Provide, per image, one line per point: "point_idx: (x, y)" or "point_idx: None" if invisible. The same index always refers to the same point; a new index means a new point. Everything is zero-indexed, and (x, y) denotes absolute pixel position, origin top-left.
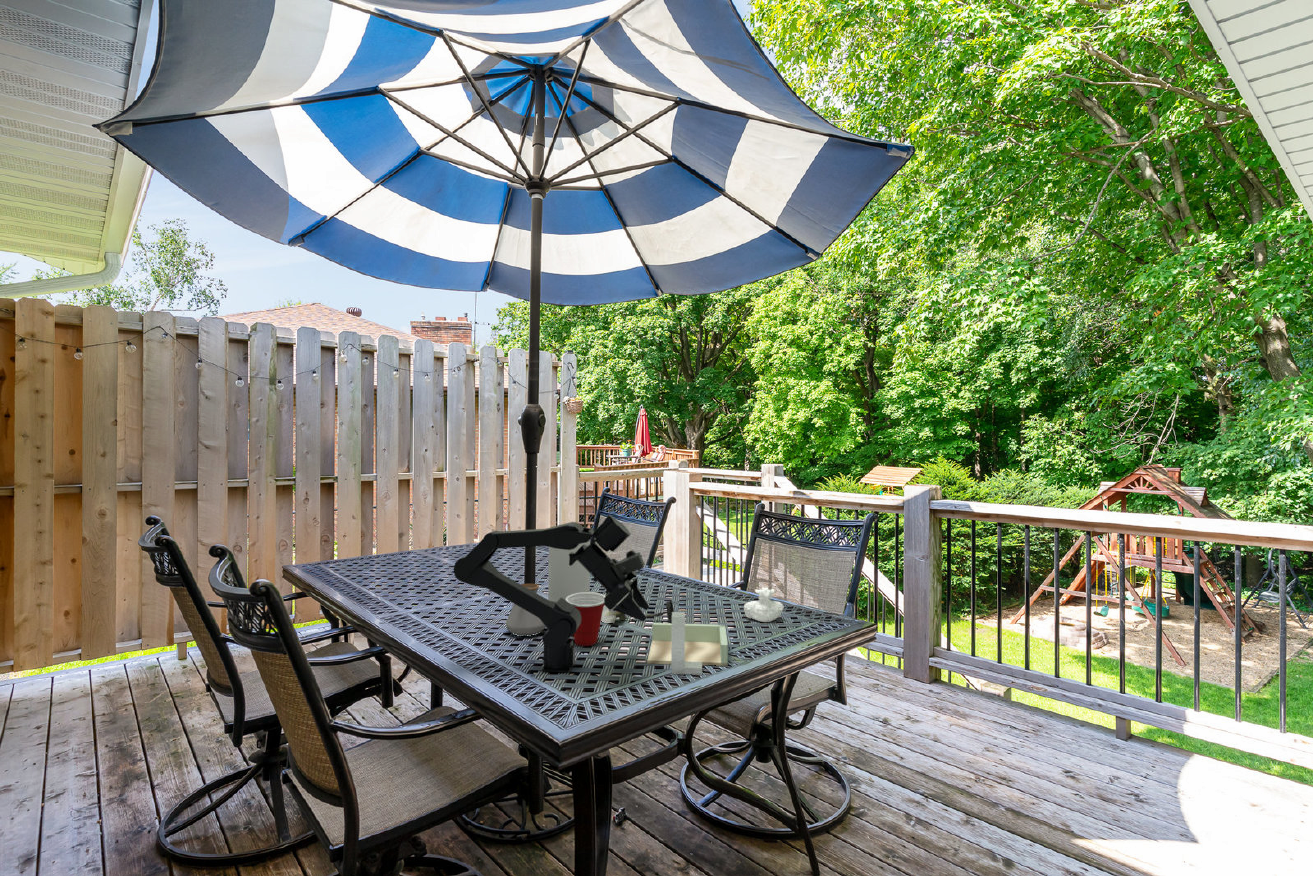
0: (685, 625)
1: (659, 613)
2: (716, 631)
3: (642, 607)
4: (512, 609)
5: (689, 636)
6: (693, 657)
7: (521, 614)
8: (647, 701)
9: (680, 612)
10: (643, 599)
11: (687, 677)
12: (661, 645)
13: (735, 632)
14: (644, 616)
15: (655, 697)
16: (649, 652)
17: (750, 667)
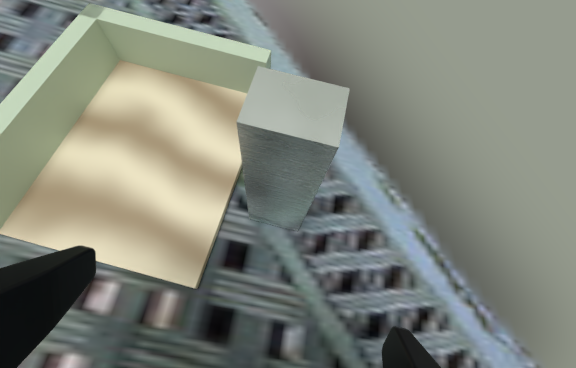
0: (28, 99)
1: None
2: (100, 38)
3: (64, 308)
4: None
5: (64, 113)
6: (211, 147)
7: None
8: (481, 338)
9: (258, 85)
10: (8, 296)
11: (324, 195)
12: (68, 212)
13: (40, 7)
14: (422, 348)
15: (453, 309)
16: (120, 267)
17: (283, 55)
